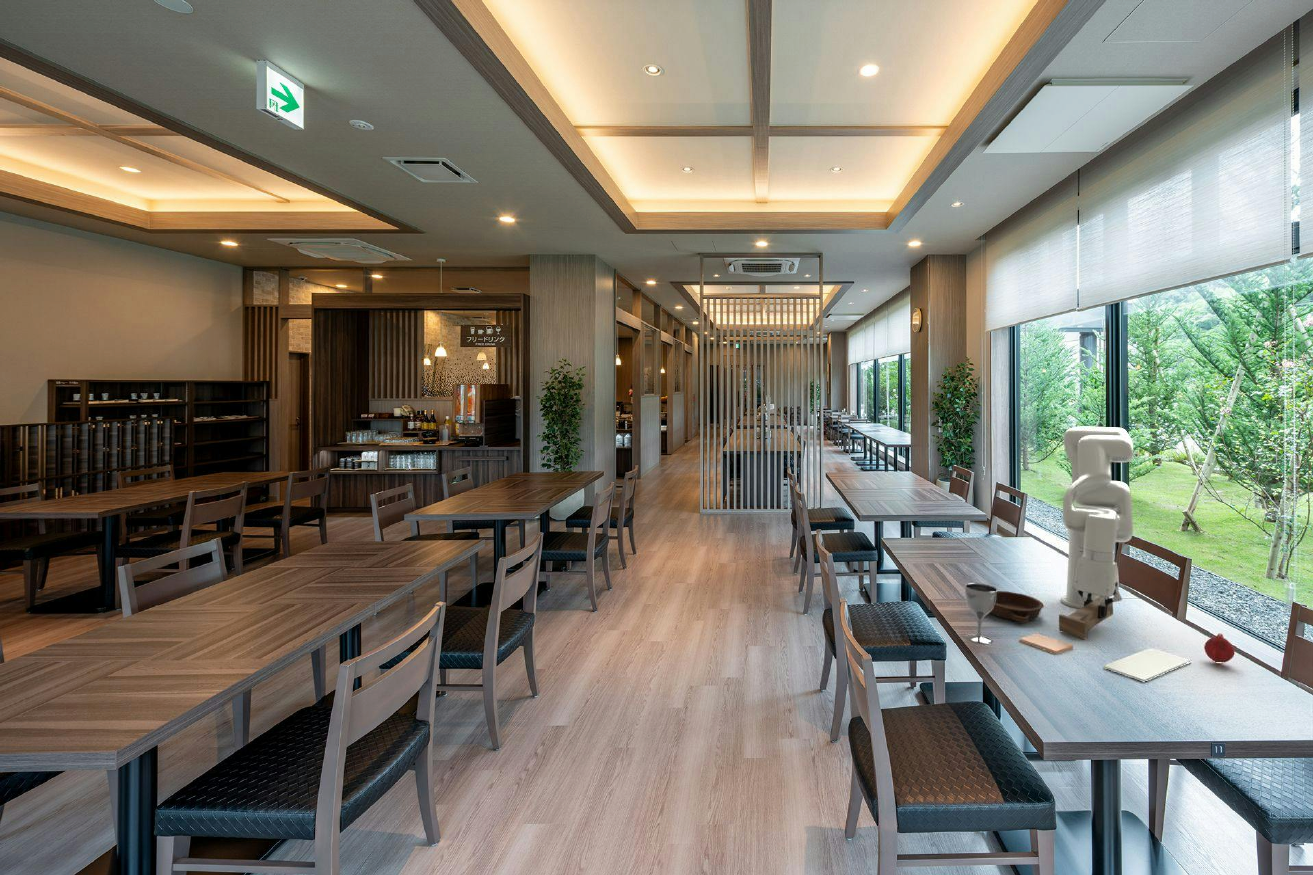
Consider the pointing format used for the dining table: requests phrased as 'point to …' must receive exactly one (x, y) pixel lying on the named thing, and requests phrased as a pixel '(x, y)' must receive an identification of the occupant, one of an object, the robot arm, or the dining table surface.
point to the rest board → (1146, 664)
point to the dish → (1016, 606)
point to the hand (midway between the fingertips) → (1094, 615)
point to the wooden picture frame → (1046, 643)
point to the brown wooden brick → (1083, 619)
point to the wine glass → (980, 607)
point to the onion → (1219, 649)
